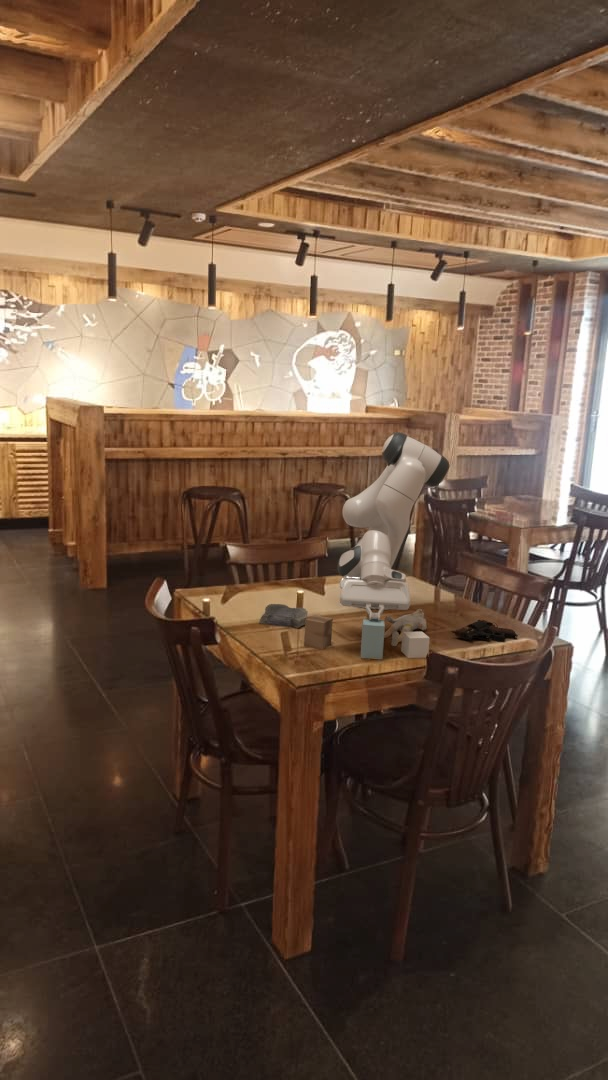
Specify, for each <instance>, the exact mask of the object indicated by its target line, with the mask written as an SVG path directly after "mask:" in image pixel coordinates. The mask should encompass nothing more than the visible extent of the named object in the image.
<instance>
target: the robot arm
mask: <svg viewBox="0 0 608 1080" xmlns="http://www.w3.org/2000/svg"><path fill="white" fill-rule="evenodd" d="M381 455H382V458H383V460H384V461H385V462H386V464H387V465H386V467H385V468H384V470H383V471H382V473H381V474H380V475H379V476H378V477H377V479H376V480H374V482H373V483H371V484H370V485H369V486H368V487H367V488H365V489H364V490H363V491H361V492H360V493H358V494H357V495H355V496H353V497H351V498H349V499H347V500H346V501H345V502H344V503H343V507H342V518H343V520H344V522H345V523H346V524H347V525H348V526H351V527H355V528H368V530H367V531H366V532H364V535H363V536H362V537H361V538H360V539H359V540H358V542H357V544H356V545H355V546H353V547H351V548H348V549H346V550H344V551H343V552H342V553H341V554H340V555H339V558H338V561H337V571H338V574H339V576H341V577H343V578H341V579H340V581H339V588H340V589H341V591H340V597H339V598H340V599H339V603H340V604H341V606H343V607H354V608H355V607H356V608H363V609H365V611H366V613H367V614H368V617H369V618H368V619H369V620H375V621H380V620H381V615H382V614H383V612H384V611H386V610H387V611H388V610H401V611H407V610H408V609H409V608H410V607H411V593H410V588H409V585H408V583H407V575H406V574H405V573H403V572H401V571H400V572H399V570H398V571H397V570H396V566H397V564H398V561H399V559H400V556H401V554H402V551H403V549H404V546H405V544H406V542H407V539H408V537H409V535H410V531H411V526H412V523H411V520H410V519H411V518H410V517H411V512H412V509H413V506H414V505H415V503H416V501H417V499H418V497H419V495H420V493H421V492H422V490H423V487H424V486H429V487H431V488H433V487H437V486H440V484H442V483H443V482H444V481H445V479H446V478H447V477H448V474H449V470H450V462H449V460H448V459H447V458H446V457H445V456H443V455H442V454H440V453H438V452H437V451H436V450H435V449H433V448H432V447H430V446H429V445H428V444H427V445H426V444H424V443H423V442H420V441H419V440H416V439H414V438H412V437H410V436H408V435H407V434H406V433H403V432H400V431H397V432H394V433H393V434H392V435H390V436H389V437H388V438H387V439H386V440H385V441H384V444H383V446H382V452H381ZM371 609H378V611H377V612H375V611H374V612H373V611H372V610H371Z"/></svg>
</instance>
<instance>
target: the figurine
mask: <svg viewBox="0 0 608 1080" xmlns="http://www.w3.org/2000/svg"><path fill="white" fill-rule="evenodd" d="M383 620H384V623H390V624H391V626H389V628H388V629H387V630H386V631H384V638H385V639H388V638H390V636H391V639H392V640H391V643H390V645H391V646H392V647H396V646H398V644H399V643H402V635H403V632H414V631H415V630H421V631H426V630H427V628H428V626H427V623H428V622H427V621H428V620H427V619H426V618H425V612H424V611H423V610H422V608H419V609H417V610H415V611H413V612H411V613H408V614H407V613H406V614H404V615H402V616H399V617H396V618H392V616H390V615H388V616H387V615H385V616H384V619H383ZM398 631H399V632H400V634H399V632H398Z"/></svg>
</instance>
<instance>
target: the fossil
mask: <svg viewBox="0 0 608 1080" xmlns="http://www.w3.org/2000/svg"><path fill="white" fill-rule="evenodd" d="M308 612H309V611H308V610H307V608H304V607H289V606H288V605H287V604H284V603H283V604H282V603H269V604H268V605H266V606H265V608H264V613H262V615H261V617H260V619H259V624H260V625H265V626H267V625H268V626H274V625H275V626H277V627H283V628H284V627H285V628H294V629H299V628H301V627H302V626H305V619H307V618H308Z"/></svg>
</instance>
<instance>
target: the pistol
mask: <svg viewBox="0 0 608 1080" xmlns="http://www.w3.org/2000/svg"><path fill="white" fill-rule="evenodd" d="M450 632H451V633H453V634H454V636H455V637H458V638H462V639H463V640H465V641H466V640H469V641H473V639H478V640H482V641H487V642H489V641H491V640H494V641H495V642H498V643H504V642H505V640H506V639H509V640H511V639H513V640H518V638H517V637H519V634H517V633H516V631H515V630H513V629H512V628H506V627H505V628H504V627H499V626H498V624H497V623H496V622H494V623H493V622H491V621H487V620H485V619H482V620H481V619H477V621H475V622H472V623H469V624H467V625H466V626H464V627H462V628H459V629H456V630H452V631H450Z"/></svg>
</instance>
